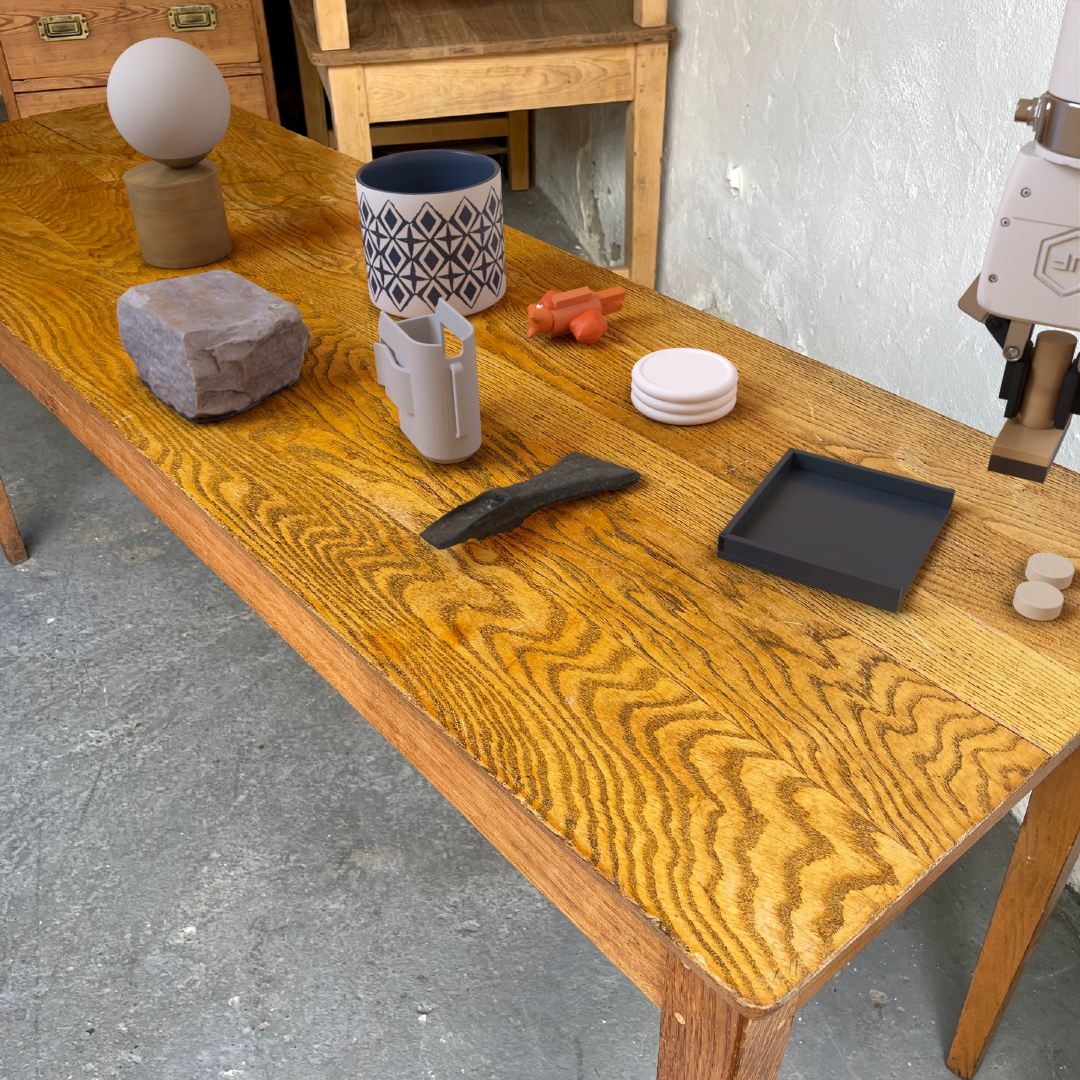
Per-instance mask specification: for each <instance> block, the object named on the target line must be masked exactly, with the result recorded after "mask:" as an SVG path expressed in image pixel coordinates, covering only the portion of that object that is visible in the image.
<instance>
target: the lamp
mask: <svg viewBox="0 0 1080 1080" xmlns="http://www.w3.org/2000/svg"><path fill="white" fill-rule="evenodd" d="M106 100H107V101H106V102H107V107H108V111H109V114H110V117H111V119H112V122H113V124H114V126H115V128H116V129H117V131H118V133H119V134H120V135H121V137H122V138H123V140H125V141H126V142H127V144H129V146H131V148H133V149H134V150H135V151H137V152H138V153H140V154H142V155H144V156H146V157H147V158H149V159H150V160H152V161H147V162H144V163H141V164H137V165H135V166H133V167H131V168H129V169H127V170H126V171H125V172H124V173H123V176H122V178H123V183H124V188H125V190H126V196H127V199H128V204H129V208H130V212H131V216H132V220H133V224H134V228H135V232H136V237H137V240H138V245H139V249H140V253H141V252H142V253H141V256H142V257H141V258H142V259H143V261H144V263H145V264H147V265H148V266H151V267H154V268H159V269H168V270H169V269H170V270H172V269H173V270H174V269H177V270H178V269H180V270H181V269H189V268H196V267H201V266H205V265H206V266H207V265H209V264H212V263H215V262H218V261H220V260H222V259H224V258H225V257H227V256H228V255H229V254H230V253H231V252H232V250H233V241H232V237H231V232H230V226H229V222H228V216H227V212H226V211H227V210H226V206H225V201H224V195H223V190H222V186H221V180H220V175H219V170H218V166H217V164H216V163H215V162H214V161H212V160H209V159H207V158H208V156H209V155H210V154H211V153H212V152H213V151H214V149H215V148H216V147H217V146H218V145H219V144H220V142H221V141H222V139H223V138H224V136H225V134H226V133H227V130H228V127H229V123H230V118H231V97H230V92H229V88H228V86H227V83H226V81H225V78H224V76H223V74H222V72H221V71H220V70H219V68H218V66H217V65H216V64H215V63H214V61H212V59H211V58H210V57H209V56H207V54H205V53H204V52H203V51H202V50H200V48H198V47H196V46H194V45H192V44H190V43H188V42H186V41H183V40H180V39H176V38H172V37H164V36H163V37H162V36H159V37H151V38H147V39H144V40H141V41H138V42H136V43H134V44H132V45H131V46H129V47H128V48H126V50H124V51H123V52H122V53H121V54H120V56H119V57H118V58H117V59H116V61H115V62H114V64H113V66H112V68H111V70H110V73H109V76H108V80H107V86H106Z"/></svg>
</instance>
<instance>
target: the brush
mask: <svg viewBox="0 0 1080 1080" xmlns="http://www.w3.org/2000/svg"><path fill="white" fill-rule="evenodd" d="M1078 341H1079V339H1078V337H1077V336H1076V335H1075V334H1073V333H1071V332H1068V331H1064V330H1058V329H1046V330H1041V331H1039V332H1038V333H1037V335H1036V337H1035V342H1034V346H1033V347H1034V350H1033V354H1032V359H1031V364H1030V368H1029V372H1028V376H1027V380H1026V384H1025V388H1024V393H1023V397H1022V401H1021V405H1020V409H1019V412H1018V414H1017V416H1016V418H1014V417H1013V418H1012V419H1009V418H1006V420H1005V422H1004V424H1003V425H1002V428H1001V429H1000V431H999V433H998V435H997V437H996V438H995V441H994V442H993V444H992V447H991V452H990V456H989V460H988V465H987V472H992V473H996V474H1000V475H1004V476H1007V477H1013V478H1017V479H1022V480H1026V481H1030V482H1034V483H1038V484H1044V483H1045V482H1046V481H1045V480H1046V479H1047V477H1048V476H1049V475H1048V474H1049V472H1050V470H1051V468H1052V466H1053V464H1054V461H1055V459H1056V457H1057V455H1058V453H1059V451H1060V448H1061V446H1062V443H1063V442H1064V439H1065V437H1066V435H1067V433H1068V430H1069V428H1070V426H1071V422H1072V419H1073V416H1074V414H1071V416H1070V418H1069V420H1068V422H1067V425H1066V427H1065V429H1064V430H1060V429H1055V428H1056V426H1053V423H1054V419H1055V415H1056V411H1057V407H1058V404H1059V400H1060V396H1061V392H1062V388H1063V385H1064V381H1065V377H1066V374H1067V372H1068V370H1069V368H1070V367H1071V365H1072V362H1073V360H1074V357H1075V354H1076V349H1077V345H1078Z"/></svg>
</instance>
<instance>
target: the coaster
mask: <svg viewBox="0 0 1080 1080" xmlns="http://www.w3.org/2000/svg"><path fill="white" fill-rule="evenodd" d="M630 375H631V379H632V380H631V383H630V384H631V385H630V388H631V391H630V399H631V402H632V405H633V406H634V407H635V409H636V410H637V411H638V412H639V413H641V414H642V415H644V416H645V417H647V418H649V419H651V420H654V421H657V422H660V423H664V424H667V425H668V424H669V425H677V426H695V425H704V424H707V423H710V422H711V423H712V422H714V421H717V420H719V419H721V418H723V417H725V416H727V414H730V412H732V411H733V409H734V407H735V405H736V402H737V392H738V381H739V373H738V370H737V368H736V366H735V365H734V364H733V362H731V360H729V359H727V358H726V357H725V356H723V355H721V354H718V353H717V352H713V351H710V350H707V349H703V348H700V349H699V348H694V347H673V348H672V347H671V348H665V349H660V350H656V351H653V352H650V353H648V354H646V355H644V356H643V357H641V358H640V359H638V360H637V361H636V362H635V363H634V364H633V367H632V369H631V374H630Z"/></svg>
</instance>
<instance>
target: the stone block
mask: <svg viewBox="0 0 1080 1080" xmlns="http://www.w3.org/2000/svg"><path fill="white" fill-rule="evenodd" d="M116 315H117V321H118V322H117V324H118V334H119V337H120V341H121V345H122V347H123V348H124V351H125V352H126V354H127V355H128V357H129V358H130V360H131V361H132V362H133V364H134V366H135V369H136V374H137V378H138V380H140V381H139V383H141V385H143V386H146V387H147V388H148V392H149V393H150V394H151V395H152V396H154V397H155V398H156V399H157V401H159V402H161V403H163V404H165V406H167V407H168V408H171V409H172V410H173V411H174V412H175V413H177V414H178V415H180V416H182V417H184V418H185V419H187V420H189V421H190V422H192V423H194V424H196V425H197V424H199V423H209V422H218V421H221V420H222V421H223V420H226V419H228V418H230V417H233V416H235V415H236V414H241V413H243V412H246V411H248V410H250V409H252V408H253V407H255V406H258V405H259V404H260V403H261V402H262V401H263V400H265V399H267V398H269V397H270V395H273V394H275V393H277V392H280V391H282V389H284V388H286V387H289V388H290V387H291V386H292V385H293V384H295V383H296V382H297V381H299V379H300V377H301V376H300V374H301V368H302V366H303V364H304V362H305V352H306V351H307V350H308V348H309V346H310V345H311V341H312V334H311V332H310V328H309V327H308V325H307V324H306V322H304V321H303V315H302V310H300V309H299V308H298V307H297V305H296V304H295V303H293V302H290V301H287V300H285V299H284V298H282V297H279V296H277V295H274V294H272V293H271V292H270V291H269V290H267V289H265V288H263V287H261V286H259V285H258V284H256V283H254V282H252V281H251V280H248V279H247V278H244V277H243V276H241V275H239V274H237V273H235V272H233V271H231V270H229V269H214V270H210V271H209V270H208V271H206V272H201V273H195V274H190V275H187V276H179V277H173V278H168V279H167V278H166V279H161V280H156V281H155V280H154V281H151V282H149V283H144V284H139V285H133V286H130V287H129V288H128V290H127V291H125V292H124V293H122V295H121V296H120V297H118V298H117V302H116Z"/></svg>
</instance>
